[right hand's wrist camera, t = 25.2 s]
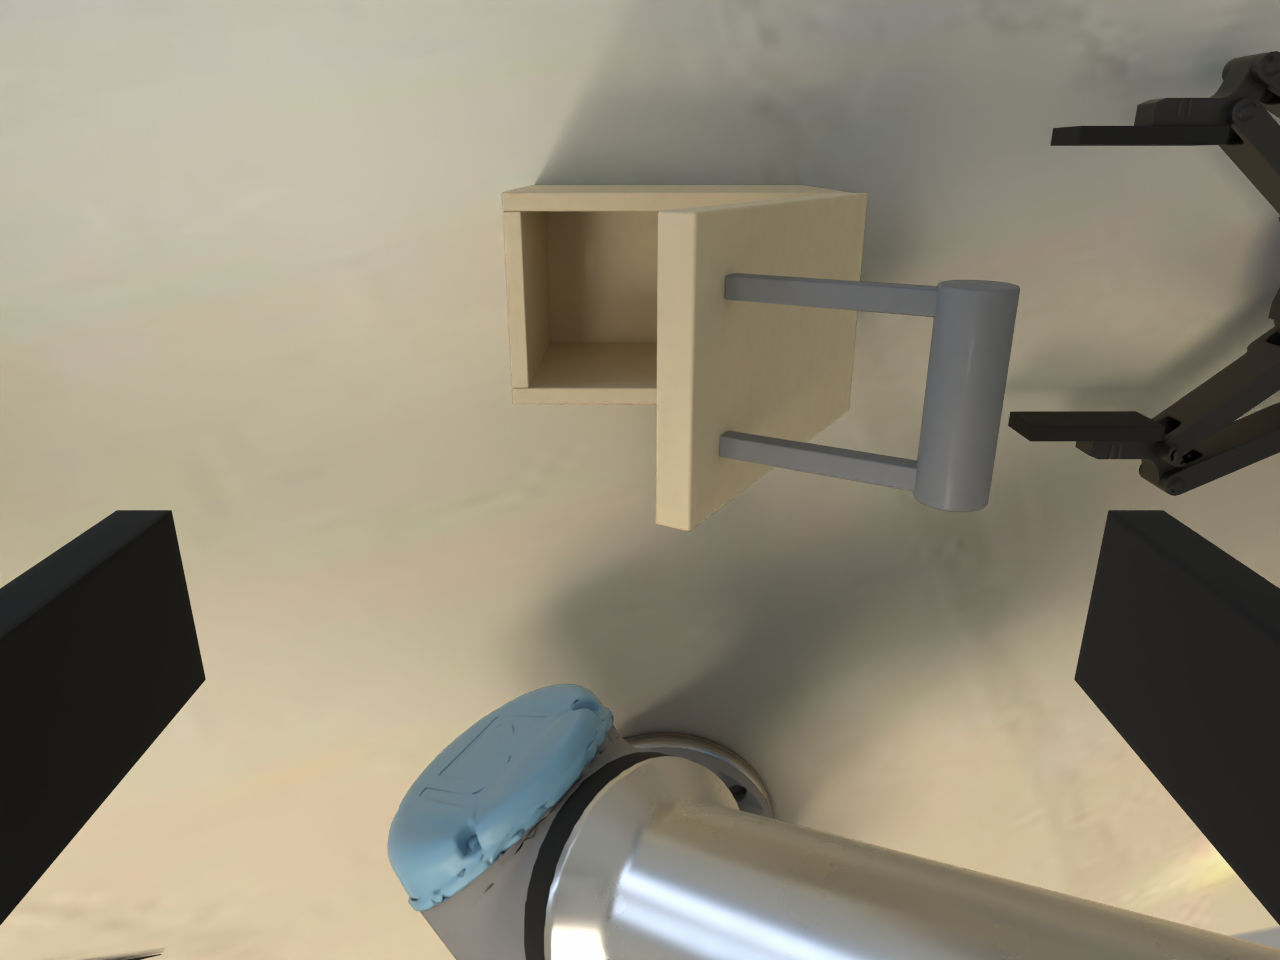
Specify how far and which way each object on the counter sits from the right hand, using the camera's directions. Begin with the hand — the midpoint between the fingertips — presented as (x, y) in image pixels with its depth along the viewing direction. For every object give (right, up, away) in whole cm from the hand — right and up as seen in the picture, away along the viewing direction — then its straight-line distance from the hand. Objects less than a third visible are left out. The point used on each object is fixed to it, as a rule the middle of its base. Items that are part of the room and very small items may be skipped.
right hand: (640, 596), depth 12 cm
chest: (+2, +13, +36) cm, 38 cm away
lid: (+4, +7, +19) cm, 20 cm away
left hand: (+19, +11, +29) cm, 36 cm away
